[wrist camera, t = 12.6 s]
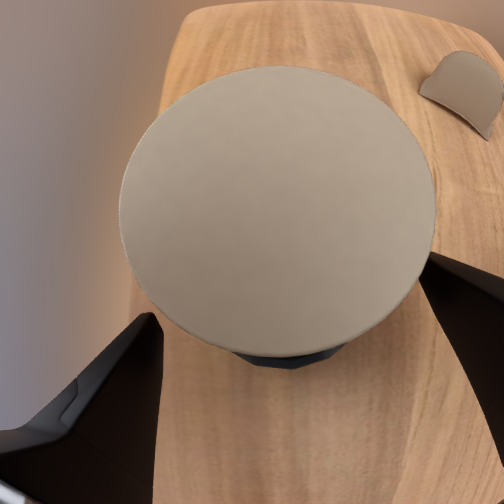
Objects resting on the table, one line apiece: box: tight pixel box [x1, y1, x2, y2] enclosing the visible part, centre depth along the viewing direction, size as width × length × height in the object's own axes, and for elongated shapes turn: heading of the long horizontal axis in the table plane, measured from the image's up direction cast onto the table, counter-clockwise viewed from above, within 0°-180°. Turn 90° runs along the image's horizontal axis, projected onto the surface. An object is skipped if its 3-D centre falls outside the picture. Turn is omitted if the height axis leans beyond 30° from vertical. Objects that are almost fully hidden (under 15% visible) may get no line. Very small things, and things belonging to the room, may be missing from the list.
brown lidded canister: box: [119, 66, 437, 357], centre depth 10 cm, size 6×6×11 cm
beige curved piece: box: [419, 50, 504, 141], centre depth 15 cm, size 4×8×5 cm, turn 52°
